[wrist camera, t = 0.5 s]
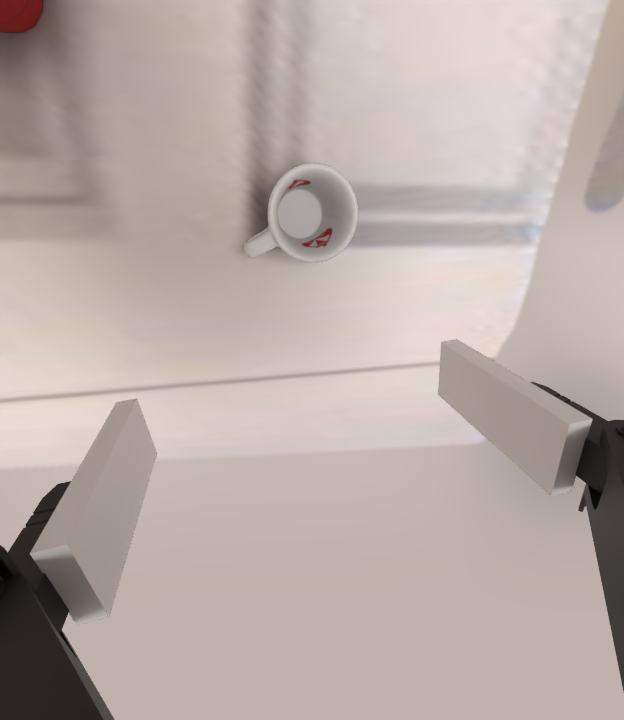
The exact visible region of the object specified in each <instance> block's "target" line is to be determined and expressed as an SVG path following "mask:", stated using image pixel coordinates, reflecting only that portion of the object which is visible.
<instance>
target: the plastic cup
mask: <svg viewBox="0 0 624 720" xmlns="http://www.w3.org/2000/svg"><path fill="white" fill-rule="evenodd" d="M42 11H43V0H0V31H2V32H8V33H16V32H25V31H27V30H28V29H30V28H31V27H33V26H35V25H36V24H37V22H38V19H39V17H40V15H41V13H42Z"/></svg>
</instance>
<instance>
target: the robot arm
mask: <svg viewBox="0 0 624 720" xmlns="http://www.w3.org/2000/svg"><path fill="white" fill-rule="evenodd" d="M438 395H439V396H440V397H441V398H442V399H444V400H445V401H446V402H447V403H448V404H449V405H450V406H451V407H452V408H454V409H455V410H456V411H457V412H458V413H459V414H460V415H461V416H462V417H463V418H465V419H466V420H467V421H468V422H469V423H470V424H471V425H472V426H473V427H475V428H476V429H477V430H478V431H479V432H480V433H481V434H482V435H483V436H485V437H486V438H487V439H488V440H489V441H490V442H491V443H492V444H494V445H495V446H496V447H497V448H498V449H499V450H500V451H501V452H502V453H503V454H504V455H506V456H507V457H508V458H509V459H510V460H511V461H512V462H513V463H514V464H516V465H517V466H518V467H519V468H520V469H521V470H522V471H523V472H524V473H526V474H527V475H528V476H529V477H530V478H531V479H532V480H533V481H534V482H536V483H537V484H538V485H539V486H540V487H541V488H542V489H543V490H544V491H546V492H547V493H548V494H549V495H550V496H554V495H557V494H561V493H564V492H568V491H571V490H572V488H573V484H574V481H575V478H576V476H578V477H579V478H580V479H582V480H583V481H584V482H585V483H586V486H585V489H584V492H583V495H582V498H581V502H580V505H579V511H581V512H582V511H583V510H584V507H585V506H587V511H588V516H589V521H590V526H591V531H592V536H593V541H594V545H595V551H596V556H597V561H598V566H599V571H600V576H601V581H602V585H603V590H604V595H605V600H606V606H607V611H608V616H609V620H610V625H611V630H612V636H613V641H614V645H615V651H616V656H617V661H618V665H619V670H620V676H621V680H622V686H623V690H624V420H612V421H607V420H605V419H603V418H601V417H600V416H598V415H596V414H594V413H592V412H591V411H589V410H587V409H585V408H583V407H582V406H580V405H578V404H576V403H575V402H571V401H570V399H568V398H566V397H564V396H561V395H560V394H559V393H557V392H556V391H554V390H552V389H550V388H549V387H546V386H543V385H540V384H537V383H534V382H529V381H527V380H525V379H524V378H522V377H520V376H518V375H517V374H515V373H513V372H512V371H510V370H508V369H507V368H505V367H503V366H501V365H500V364H498V363H496V362H495V361H493V360H491V359H490V358H488V357H486V356H484V355H483V354H481V353H479V352H478V351H476V350H474V349H472V348H471V347H469V346H467V345H466V344H464V343H462V342H460V341H459V340H457V339H456V340H450V341H445V342H441V356H440V372H439V388H438ZM156 455H157V452H156V450H155V447H154V444H153V441H152V439H151V436H150V433H149V430H148V428H147V425H146V422H145V419H144V417H143V414H142V411H141V408H140V405H139V403H138V400H137V399H132V400H127V401H121V402H116V404H115V406H114V408H113V409H112V411H111V413H110V415H109V416H108V418H107V420H106V422H105V423H104V425H103V427H102V429H101V430H100V432H99V434H98V435H97V437H96V439H95V441H94V442H93V444H92V446H91V448H90V449H89V451H88V453H87V455H86V456H85V458H84V460H83V462H82V463H81V465H80V467H79V469H78V470H77V472H76V474H75V476H74V477H73V479H72V481H70V482H65V483H61V484H57V485H56V486H55V487H54V488H53V489H52V490H51V491H50V492H49V493H48V494H47V495H46V496H45V497H43V498H42V500H41V501H40V503H39V505H38V506H37V508H36V509H35V511H34V512H33V513H34V515H32V516H31V517H30V519H29V520H28V522H27V523H26V528H23V530H22V531H21V533H20V534H19V536H18V538H17V539H16V541H15V542H14V544H13V545H12V547H11V549H10V550H9V552H8V553H7V551H6V550H5V549H4V548H3V547H2V546H1V545H0V720H114V718H113V716H112V715H111V713H110V711H109V709H108V708H107V706H106V704H105V703H104V701H103V699H102V697H101V696H100V694H99V692H98V691H97V689H96V687H95V685H94V684H93V682H92V681H91V679H90V677H89V675H88V673H87V672H86V670H85V668H84V667H83V665H82V663H81V661H80V660H79V658H78V656H77V655H76V653H75V651H74V649H73V648H72V646H71V644H70V643H69V641H68V639H67V637H66V636H65V634H64V633H63V632H62V628H63V625H64V622H65V620H66V617H67V615H68V612H69V613H70V615H71V617H72V618H73V620H74V622H75V623H76V625H77V626H79V625H82V624H86V623H90V622H93V621H97V620H101V619H104V618H108V617H109V616H110V613H111V610H112V606H113V603H114V599H115V596H116V592H117V589H118V586H119V582H120V579H121V575H122V572H123V568H124V565H125V562H126V558H127V555H128V551H129V548H130V544H131V541H132V538H133V534H134V530H135V527H136V524H137V520H138V517H139V513H140V510H141V506H142V503H143V500H144V496H145V493H146V490H147V486H148V483H149V479H150V475H151V472H152V469H153V466H154V462H155V459H156Z"/></svg>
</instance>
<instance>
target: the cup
mask: <svg viewBox="0 0 624 720" xmlns="http://www.w3.org/2000/svg"><path fill="white" fill-rule="evenodd" d="M357 220H358V205H357V200H356V196H355V193H354V191H353V189H352V187H351V185H350V184H349V182H348V181H347V179H346V178H345V177H344V176H343V175H342V174H341V173H340V172H338V171H337V170H335V169H334V168H332V167H330V166H327V165H324V164H320V163H306V164H302V165H299V166H296V167H294V168H292V169H291V170H289V171H288V172H286V173H285V174H284V175H283V176H282V177H281V178H280V179H279V180H278V182H277V183H276V185H275V186H274V188H273V190H272V193H271V195H270V198H269V203H268V227H267V228H266V229H265V230H263V231H261V232H260V233H258V234H256V235H255V236H253V237H252V238H250V239H249V240H247V241H246V242H245V243H244V244H243V249H244V251H245V253H246V254H247V256H248V257H250V258H255V257H257V256H260V255H262V254H264V253H266V252H267V251H269V250H271V249H273V248H275V247H280V248H281V249H282V250H283V251H284V252H285V253H286V254H288V255H289V256H291V257H292V258H294V259H296V260H299V261H302V262H307V263H318V262H323V261H327V260H329V259H331V258H333V257H335V256H336V255H338V254H339V253H340V252H341V251H342V250H344V248H345V247H346V246H347V245H348V244H349V242H350V240H351V239H352V237H353V235H354V232H355V229H356V226H357Z"/></svg>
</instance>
